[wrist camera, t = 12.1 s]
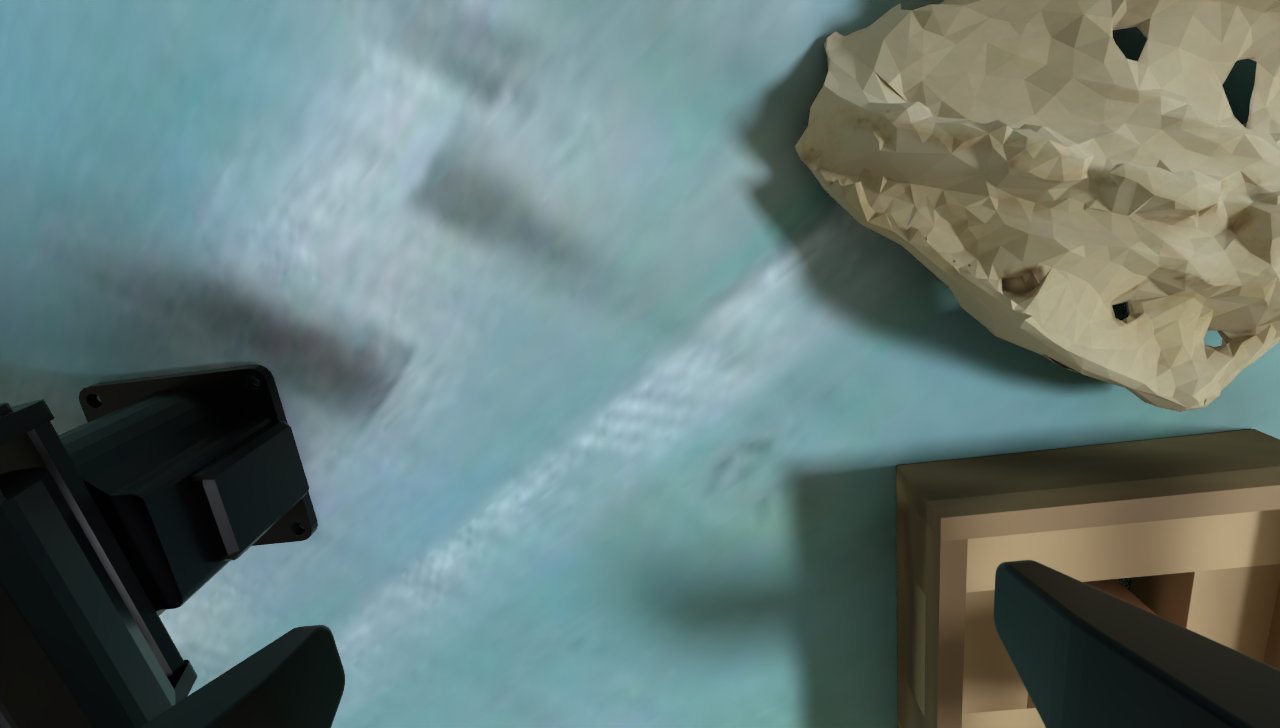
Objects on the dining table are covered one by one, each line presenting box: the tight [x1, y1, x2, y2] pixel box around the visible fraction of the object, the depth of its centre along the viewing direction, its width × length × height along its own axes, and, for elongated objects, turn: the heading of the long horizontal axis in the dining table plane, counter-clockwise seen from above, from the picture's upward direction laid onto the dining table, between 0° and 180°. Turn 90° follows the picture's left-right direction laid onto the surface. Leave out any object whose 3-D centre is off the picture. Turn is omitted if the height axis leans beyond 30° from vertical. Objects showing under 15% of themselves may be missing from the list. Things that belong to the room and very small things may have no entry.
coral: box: [795, 0, 1280, 412], centre depth 17 cm, size 15×12×5 cm
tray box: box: [896, 429, 1280, 728], centre depth 22 cm, size 12×12×4 cm
